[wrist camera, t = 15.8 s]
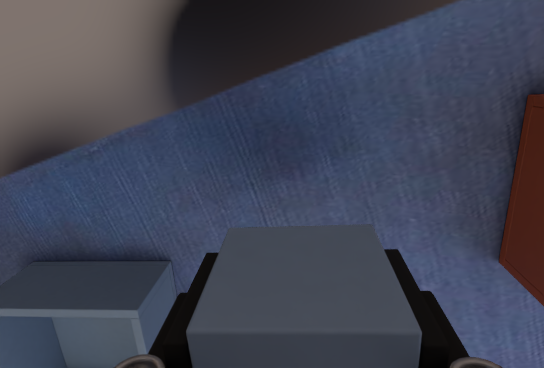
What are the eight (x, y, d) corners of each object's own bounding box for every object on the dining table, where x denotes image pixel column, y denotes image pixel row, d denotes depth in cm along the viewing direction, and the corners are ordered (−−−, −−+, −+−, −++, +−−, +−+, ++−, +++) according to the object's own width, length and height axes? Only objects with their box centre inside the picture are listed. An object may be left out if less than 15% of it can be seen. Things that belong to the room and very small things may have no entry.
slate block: (228, 226, 11) (184, 331, 7) (372, 222, 10) (424, 332, 6) (241, 339, 12) (212, 483, 8) (368, 339, 12) (407, 491, 8)
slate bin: (33, 261, 27) (-33, 308, 22) (171, 260, 26) (137, 310, 20) (68, 371, 30) (19, 435, 25) (190, 375, 29) (165, 442, 24)
